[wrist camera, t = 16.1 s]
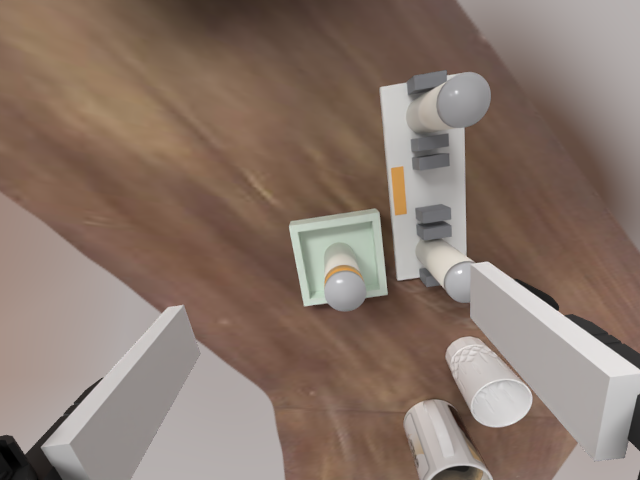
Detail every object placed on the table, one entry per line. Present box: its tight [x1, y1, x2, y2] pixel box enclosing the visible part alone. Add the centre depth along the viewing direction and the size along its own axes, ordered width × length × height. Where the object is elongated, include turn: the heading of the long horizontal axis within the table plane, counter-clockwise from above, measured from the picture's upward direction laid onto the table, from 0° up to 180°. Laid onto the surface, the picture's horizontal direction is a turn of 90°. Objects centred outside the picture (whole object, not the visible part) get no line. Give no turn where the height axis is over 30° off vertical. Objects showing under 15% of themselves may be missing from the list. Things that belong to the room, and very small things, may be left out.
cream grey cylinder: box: [406, 72, 491, 134], centre depth 32 cm, size 4×4×11 cm
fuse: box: [415, 238, 475, 303], centre depth 37 cm, size 4×4×11 cm
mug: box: [404, 399, 493, 480], centre depth 46 cm, size 10×12×11 cm
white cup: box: [445, 336, 532, 427], centre depth 43 cm, size 8×8×10 cm
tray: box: [289, 208, 388, 306], centre depth 42 cm, size 12×12×3 cm
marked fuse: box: [324, 242, 366, 311], centre depth 37 cm, size 4×4×11 cm
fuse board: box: [379, 70, 467, 287], centre depth 39 cm, size 26×10×4 cm, turn 9°
